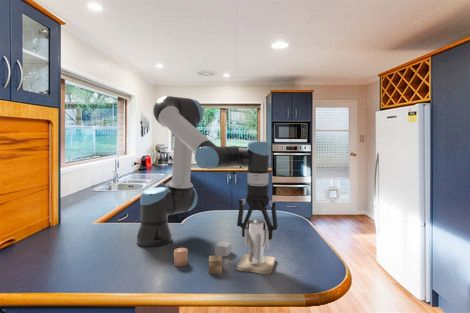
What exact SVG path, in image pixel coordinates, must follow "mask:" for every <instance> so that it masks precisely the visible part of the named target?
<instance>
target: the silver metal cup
mask: <svg viewBox="0 0 470 313" xmlns="http://www.w3.org/2000/svg"><path fill="white" fill-rule="evenodd" d="M246 227H247V239H248V245H247V246H248V254H249V258H248V262H249V263H250V264H252V265H262V264H264V263H265V260H264V256H265V254H264V252H265V248H266V231H267V224H266V222H265V219H260V218H252V219H251V218H250V219H249V220H248V223H247V226H246Z"/></svg>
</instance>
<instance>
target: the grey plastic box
mask: <svg viewBox="0 0 470 313" xmlns="http://www.w3.org/2000/svg"><path fill="white" fill-rule="evenodd" d="M232 245H233V244H232V242H227V241H222V240H220V241H219V242H218V243H216V244H214V256H215V255H222V257H224V256H227V257H228V256H230V254H232V251H233V250H232V249H233V248H232Z"/></svg>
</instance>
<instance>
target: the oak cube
mask: <svg viewBox="0 0 470 313" xmlns="http://www.w3.org/2000/svg"><path fill="white" fill-rule="evenodd" d="M208 274H210V275H211V274H223V256H222V255H215V254H214V255H209V256H208Z"/></svg>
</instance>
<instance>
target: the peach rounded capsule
mask: <svg viewBox="0 0 470 313" xmlns="http://www.w3.org/2000/svg"><path fill="white" fill-rule="evenodd" d="M188 253H189V250H188V248H185V247H179V248H175V249H174V250H173V266H175V267H185V266H187V265H188V264H189V261H188V260H189V258H188V257H189V256H188V255H189V254H188Z"/></svg>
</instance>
